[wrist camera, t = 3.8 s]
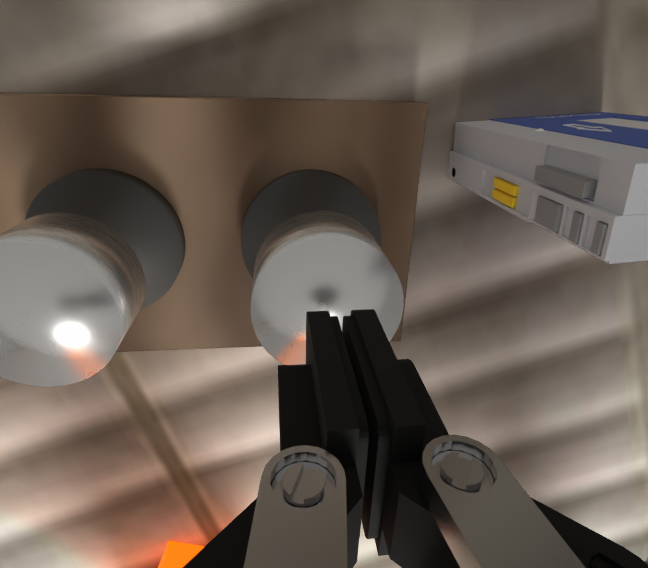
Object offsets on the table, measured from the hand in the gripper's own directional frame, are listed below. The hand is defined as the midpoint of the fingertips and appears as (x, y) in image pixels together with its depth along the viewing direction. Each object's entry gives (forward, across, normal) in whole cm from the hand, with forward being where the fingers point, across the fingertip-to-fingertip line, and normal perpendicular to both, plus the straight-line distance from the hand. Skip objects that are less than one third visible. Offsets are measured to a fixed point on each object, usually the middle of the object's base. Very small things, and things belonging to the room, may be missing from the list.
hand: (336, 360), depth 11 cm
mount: (+13, +9, +1) cm, 15 cm away
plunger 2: (+6, 0, 0) cm, 6 cm away
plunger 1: (+6, +9, 0) cm, 11 cm away
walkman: (+13, -11, -3) cm, 17 cm away
